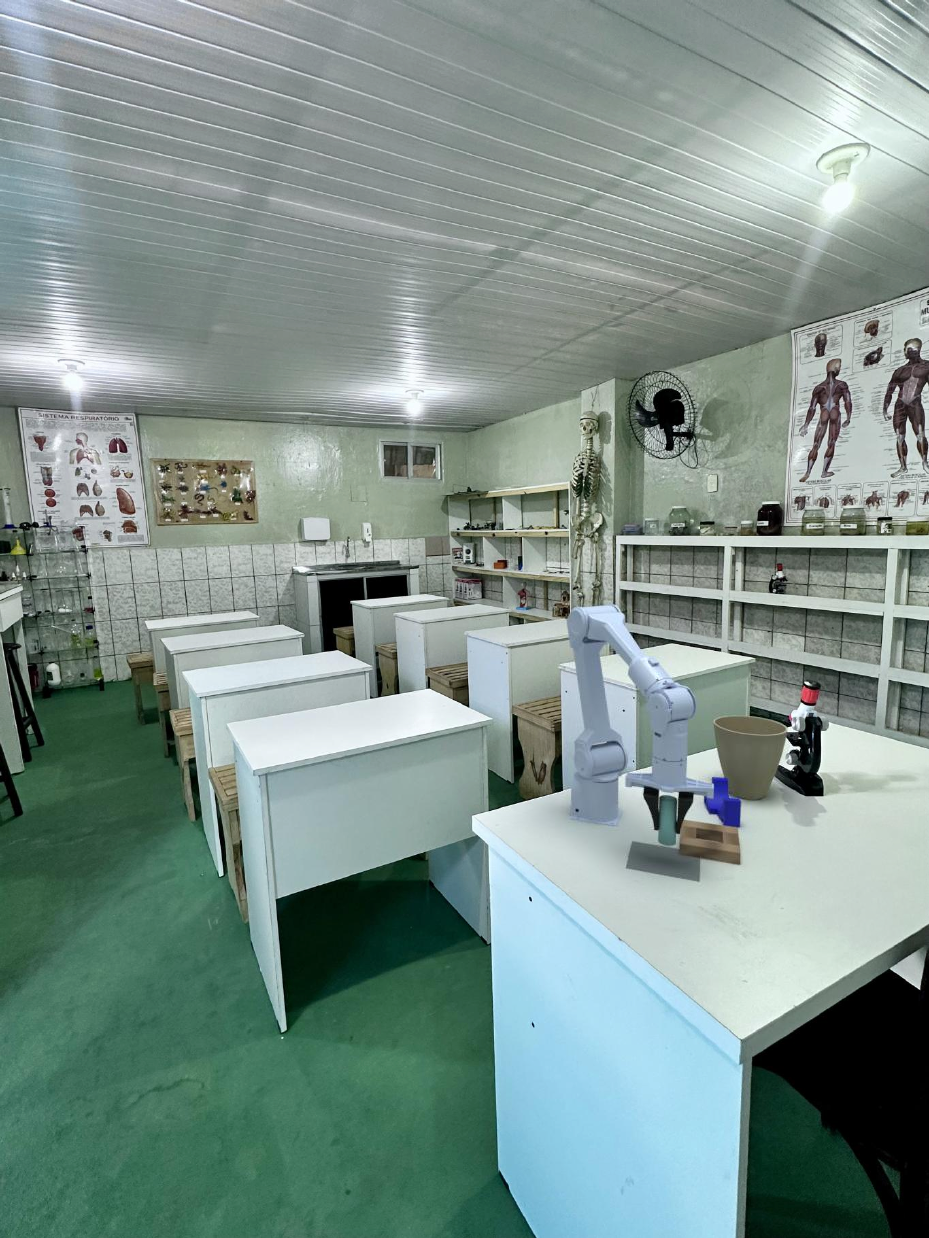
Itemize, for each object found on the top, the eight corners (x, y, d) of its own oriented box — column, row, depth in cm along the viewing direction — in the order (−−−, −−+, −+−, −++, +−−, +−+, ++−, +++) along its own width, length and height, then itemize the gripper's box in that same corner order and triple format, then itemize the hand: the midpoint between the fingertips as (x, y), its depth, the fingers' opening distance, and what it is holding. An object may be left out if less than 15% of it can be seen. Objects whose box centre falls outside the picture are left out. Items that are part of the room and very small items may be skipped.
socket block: (679, 856, 108) (679, 843, 107) (681, 831, 117) (681, 819, 116) (739, 866, 104) (740, 853, 104) (737, 839, 113) (737, 827, 113)
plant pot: (799, 804, 128) (803, 732, 126) (734, 809, 126) (737, 737, 124) (757, 777, 142) (760, 713, 140) (698, 781, 140) (700, 716, 138)
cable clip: (703, 802, 130) (704, 776, 129) (725, 804, 129) (726, 777, 128) (715, 828, 118) (716, 799, 117) (739, 830, 117) (741, 801, 116)
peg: (657, 844, 104) (658, 800, 103) (658, 836, 107) (659, 794, 106) (675, 847, 103) (676, 803, 102) (676, 839, 106) (677, 796, 105)
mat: (625, 870, 103) (625, 867, 103) (632, 843, 113) (632, 841, 113) (699, 883, 99) (699, 881, 99) (700, 854, 108) (700, 852, 108)
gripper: (623, 758, 102) (622, 833, 104) (715, 769, 97) (711, 847, 99) (628, 745, 109) (627, 815, 110) (714, 754, 103) (711, 828, 105)
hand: (667, 829), depth 105 cm, fingers closed on peg, 3 cm apart
